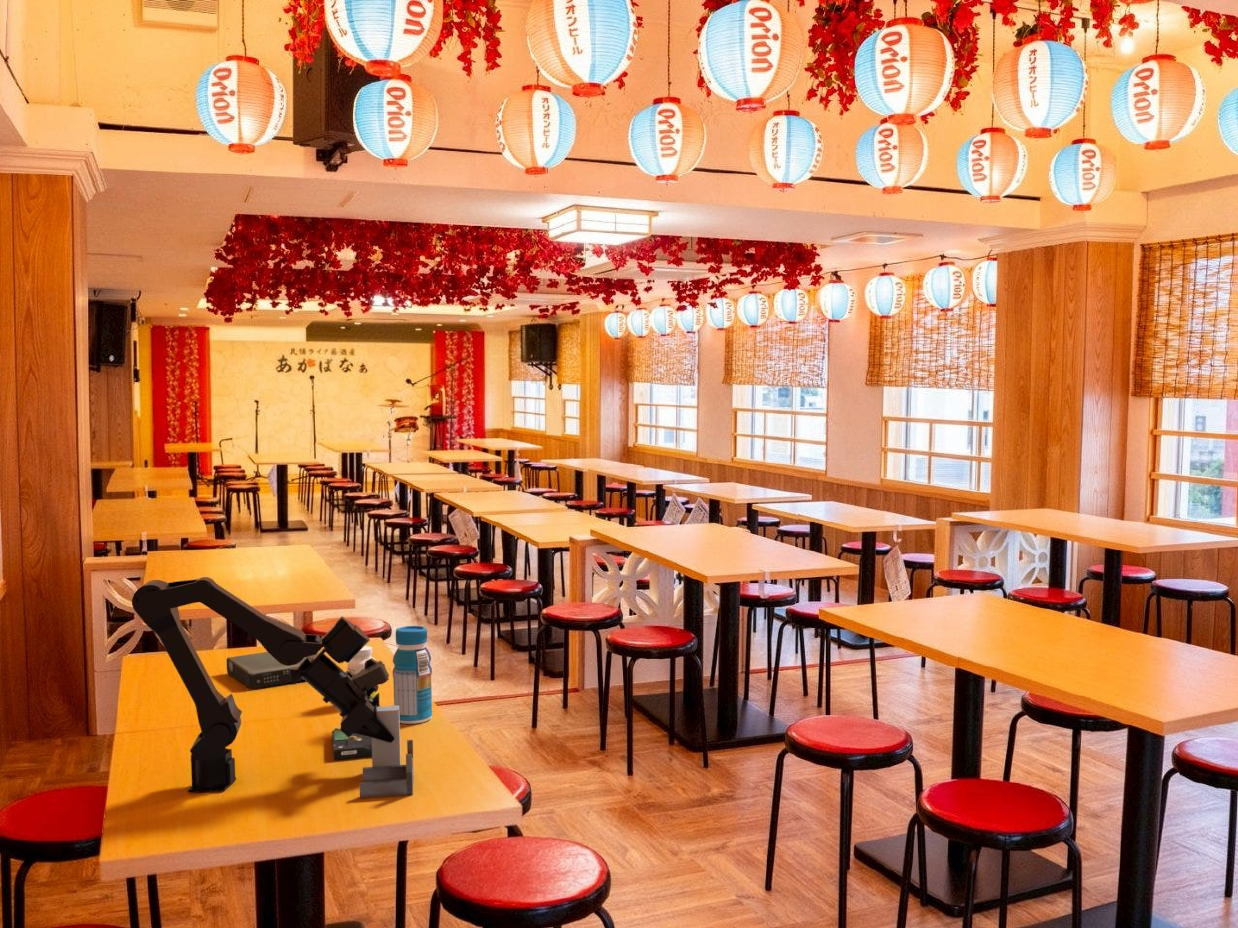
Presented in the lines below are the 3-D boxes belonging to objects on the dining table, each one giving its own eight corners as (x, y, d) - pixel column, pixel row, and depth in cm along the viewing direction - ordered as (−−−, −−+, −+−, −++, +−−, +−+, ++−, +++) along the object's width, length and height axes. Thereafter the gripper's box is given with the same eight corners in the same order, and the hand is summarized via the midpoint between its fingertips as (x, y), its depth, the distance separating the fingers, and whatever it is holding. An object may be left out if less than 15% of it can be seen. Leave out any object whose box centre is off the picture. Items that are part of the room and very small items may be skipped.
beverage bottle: (393, 726, 226) (391, 633, 225) (393, 715, 234) (391, 625, 233) (433, 723, 228) (431, 631, 227) (432, 712, 236) (430, 623, 235)
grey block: (372, 777, 194) (370, 712, 194) (373, 768, 199) (372, 705, 199) (400, 775, 195) (398, 711, 195) (400, 766, 200) (399, 703, 200)
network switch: (301, 662, 288) (301, 643, 288) (343, 677, 271) (343, 657, 271) (216, 677, 273) (216, 658, 272) (255, 694, 255) (254, 674, 255)
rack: (359, 798, 184) (358, 758, 183) (363, 780, 192) (362, 742, 192) (413, 794, 185) (412, 755, 185) (414, 777, 194) (413, 739, 194)
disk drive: (388, 758, 207) (382, 735, 221) (388, 744, 207) (382, 722, 221) (333, 764, 204) (330, 740, 218) (333, 749, 204) (330, 727, 218)
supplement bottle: (382, 699, 248) (380, 645, 247) (372, 707, 241) (371, 651, 240) (354, 699, 248) (352, 644, 248) (344, 706, 242) (342, 651, 241)
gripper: (358, 660, 186) (423, 718, 189) (365, 638, 205) (424, 691, 207) (313, 707, 185) (379, 765, 188) (324, 681, 204) (384, 733, 206)
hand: (393, 736), depth 197 cm, fingers open, 5 cm apart
